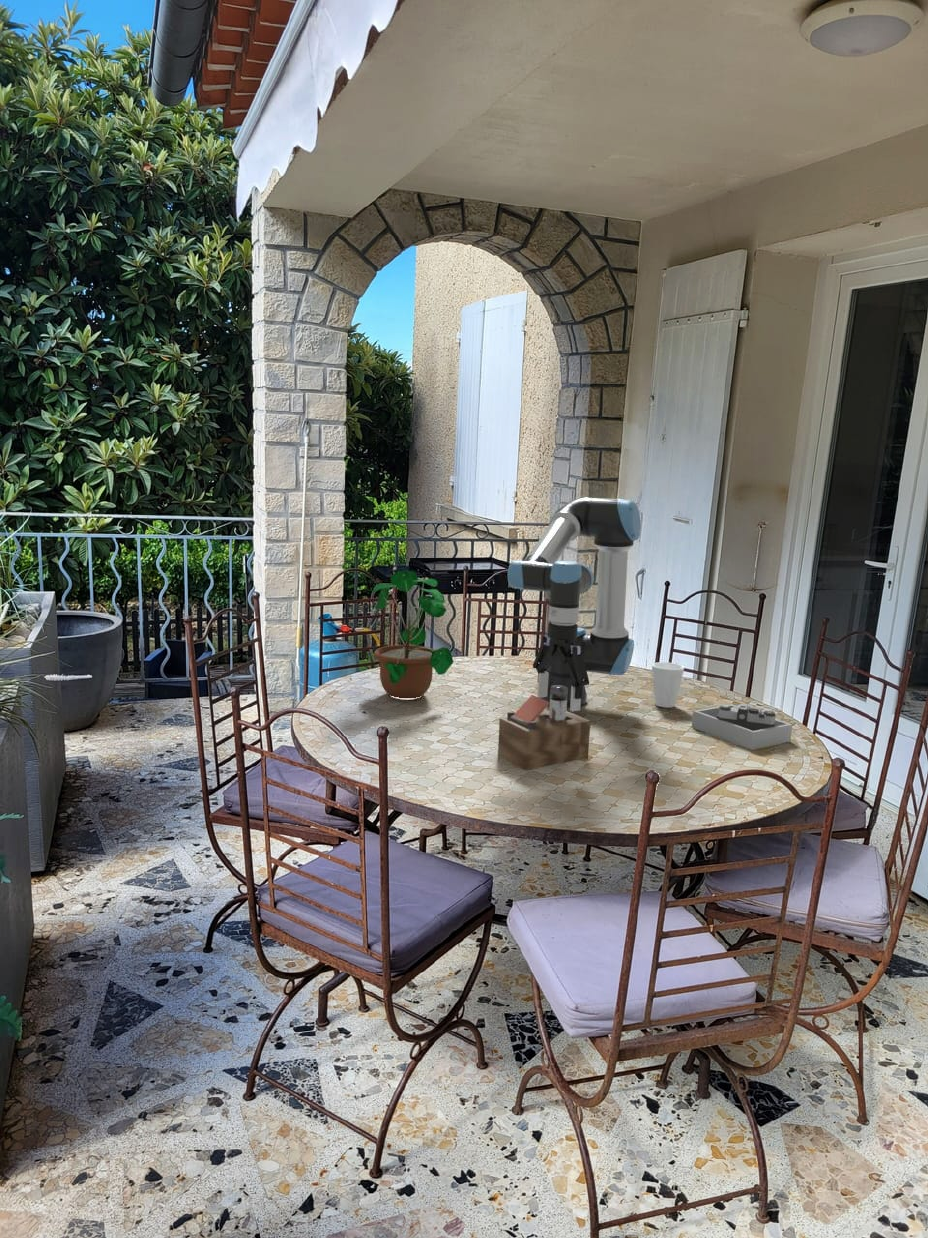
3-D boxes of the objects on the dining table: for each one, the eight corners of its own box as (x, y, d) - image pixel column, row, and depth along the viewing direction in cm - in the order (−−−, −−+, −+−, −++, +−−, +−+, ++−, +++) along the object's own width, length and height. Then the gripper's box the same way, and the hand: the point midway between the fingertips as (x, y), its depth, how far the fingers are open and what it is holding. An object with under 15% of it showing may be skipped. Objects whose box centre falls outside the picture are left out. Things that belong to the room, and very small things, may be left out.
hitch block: (559, 744, 237) (561, 702, 234) (587, 758, 227) (590, 714, 225) (497, 755, 226) (499, 712, 224) (525, 770, 216) (527, 725, 214)
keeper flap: (533, 696, 226) (531, 694, 225) (550, 703, 220) (548, 701, 219) (511, 720, 223) (509, 717, 223) (528, 728, 217) (526, 725, 217)
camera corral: (729, 720, 265) (730, 704, 264) (790, 741, 246) (792, 724, 245) (691, 727, 256) (693, 710, 255) (752, 750, 238) (753, 732, 237)
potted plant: (426, 715, 258) (430, 582, 251) (349, 698, 273) (351, 572, 266) (480, 693, 284) (485, 572, 277) (407, 678, 299) (410, 563, 291)
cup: (646, 707, 275) (649, 667, 272) (651, 699, 284) (654, 660, 281) (678, 712, 271) (682, 671, 269) (683, 704, 280) (686, 664, 278)
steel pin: (556, 743, 231) (560, 684, 228) (567, 748, 228) (571, 688, 225) (543, 745, 229) (547, 686, 226) (554, 750, 225) (557, 690, 222)
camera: (773, 736, 252) (777, 703, 250) (772, 747, 243) (776, 712, 241) (717, 728, 257) (720, 696, 255) (714, 738, 248) (717, 704, 246)
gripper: (522, 615, 230) (518, 693, 234) (583, 633, 210) (577, 718, 214) (545, 613, 234) (540, 690, 238) (607, 630, 214) (601, 714, 218)
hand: (558, 703), depth 226 cm, fingers open, 13 cm apart
